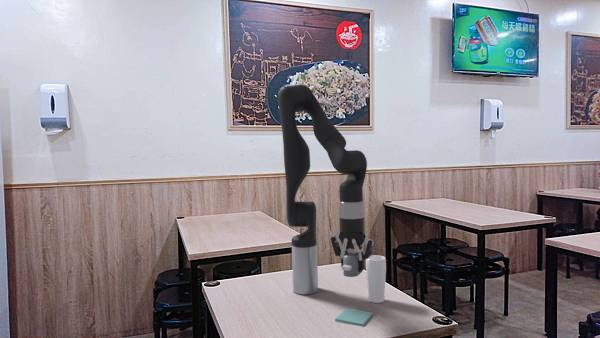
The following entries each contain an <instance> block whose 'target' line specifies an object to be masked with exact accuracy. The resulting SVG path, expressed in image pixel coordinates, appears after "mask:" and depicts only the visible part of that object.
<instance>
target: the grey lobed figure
mask: <svg viewBox="0 0 600 338" xmlns="http://www.w3.org/2000/svg"><path fill="white" fill-rule="evenodd" d="M358 260H359V259H358V255H357V253H356V251H355V250H348V252H347V253H345V254H344V255H343V266H342V267H341V270H342V271H343V276H344V277H348V278H355V277H358V276H359V275H360V274H362V273H363V271H362V272H359V271H358Z"/></svg>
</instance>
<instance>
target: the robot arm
mask: <svg viewBox="0 0 600 338" xmlns="http://www.w3.org/2000/svg"><path fill="white" fill-rule="evenodd" d="M277 103H278V104H277V105H278V111H279V118H280V125H281V131H282V132H281V133H282V141H283V143H282V144H283V145H282V147H283V162H284V164H283V165H284V175H285V187H286V190H285V191H286V193H285V195H286V196H285V197H286V198H285V199H286V221H287V224H288V226H289V227H291V228H293V227H294V228H297V227H298V228H299V227H301V228H303V227H306V228H307V229H305V231H303V232H301V233H298V234H296V235H294V236H292V237H291V259H292V260H291V261H292V263H291V265H292V292H293V293H295V294H298V295H312V294H316V293H317V292H318V291H319V289H318V288H319V277H318V276H319V273H318V268H319V267H318V249H317V246H318V244H317V206H316V204H315V201H296V196H297V193H298V191H299V188H300V186H301V185H302V183H303V182H304V180H305V178H307V176H308V173H309V171H310V169H311V154H310V147H309V145H308V144H307V142H306V140H305V139H304V137H303V135H301V133H300V131H299V128H298V125H297V122H296V113H302V112H305V113H306V114H308V116H309V117H310V118H311V120H312V127H313V129H312V131H313V133H314V136H315V138H316V140H317V141H318V143H319V144H320V146H321V147H322V148H323V149H324V150H325V151H326V154H327V156H328V158H329V160H330V162H331V164H332V167H333V168H334V169H335V171H337V172H338V174H339V173H340V174H342V175H347V177H346V180H344V181H343V182H341V183H340V184H339V207H338V216H339V217H338V218H339V219H338V220H339V222H338V223H339V234H338V235H334V236H331V237H330V242H331V245H332V248H333V251H334V252H333V253H334V255H335V256H336V257H340V267H341V268H342V266H343V255H344V254H345V253H347V252H349V251H350V249H352V250H354V251H356V253H357V255H358V259H359V260H358V271H359V272H362V273H363V271H364V270H365V269H366V259H368V258H369V257H370V256H371V255H372V253H373V248H374V243H375V239H374V238H369V237H366V234H365V208H364V195H363V194H364V193H363V192H364V191H363V186H364V183H365V178H366V174H367V170H368V168H367V167H368V161H367V157H366V155H365V154H364V153H363V152H362V151H361V150H347V149H346V146H347V140H346V138H345V137H344V135H343V134H342V133H341V132H340V131H339V130H338V128H336V127H335V125H334V124H333V123H332V122H331V120H330V119H329V117H328V116H327V114H326V113H325V111H324V109H323V107H322V106H321V104H320V102H319V101H318V99H317V97H316V95H315V94H314V93H313V91H312V89H310V87H309V86H308V85H306V84H294V85H285V86H282V87H281V88H280V89H279V91H278V94H277ZM340 242H341V243H342V246H341V244H340ZM363 243H365V246H366V248H365V252H364V247H363Z"/></svg>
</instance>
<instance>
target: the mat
mask: <svg viewBox="0 0 600 338" xmlns="http://www.w3.org/2000/svg"><path fill="white" fill-rule="evenodd" d="M373 315H374V312H372V311H371V312H370V311H364V310H359V309H354V308H353V309H352V308H347V307H346V308H345V309H343V310H342V312H341V313H339V314H338V316H336V318H335V319H334V321H335V322H339V323H345V324H350V325H356V326H361V327H364V326H365V324H367V322H368V321H369V320H370V319H371V317H372V316H373Z"/></svg>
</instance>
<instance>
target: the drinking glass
mask: <svg viewBox="0 0 600 338" xmlns="http://www.w3.org/2000/svg"><path fill="white" fill-rule="evenodd" d="M365 272H366V281H367V283H366V284H367V291H368V292H367V293H368V301H369V302H371V303H374V304H382V303H384V301H385V294H386V293H385V290H386V289H385V288H386V278H387V277H386V274H387V259H386V257H385V256H383V255H379V254H378V255H375V254H371V256H370V257H369V258H368V259H365Z"/></svg>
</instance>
